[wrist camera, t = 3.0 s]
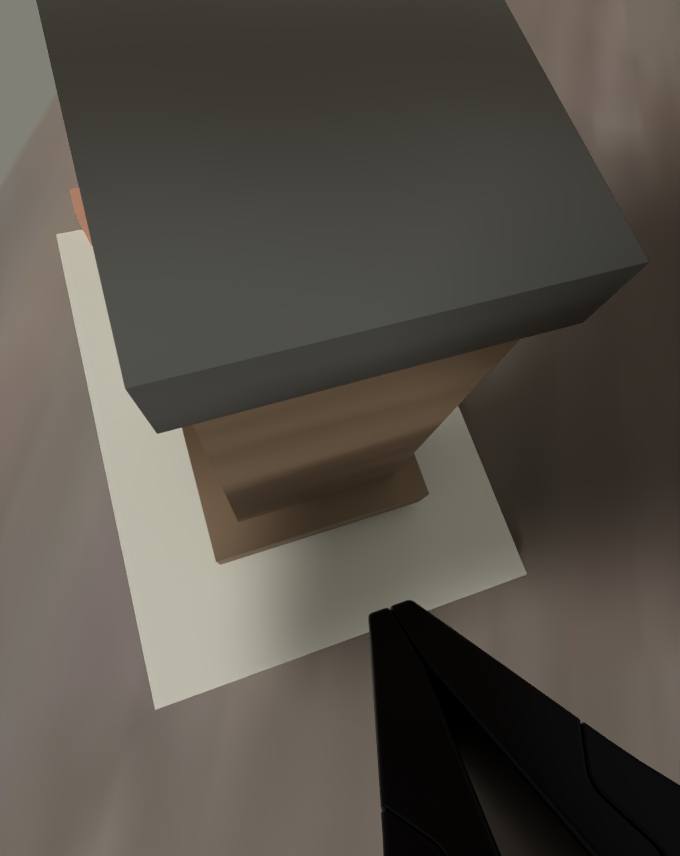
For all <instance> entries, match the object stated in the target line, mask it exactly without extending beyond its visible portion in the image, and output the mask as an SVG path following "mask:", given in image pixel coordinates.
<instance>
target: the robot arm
mask: <svg viewBox="0 0 680 856" xmlns="http://www.w3.org/2000/svg"><path fill="white" fill-rule="evenodd" d="M368 623H369V638H370V653H371V667H372V682H373V697H374V712H375V726H376V741H377V756H378V770H379V785H380V800H381V809H382V812H381V819H382V833H383V854H384V856H680V785H679V784H677V783H675V782H674V781H672V780H670V779H669V778H667V777H665V776H664V775H662V774H661V773H659V772H657V771H656V770H654V769H652V768H651V767H649V766H647V765H646V764H644V763H643V762H641V761H639V760H638V759H636V758H635V757H633V756H632V755H631V754H629V753H628V752H626V751H625V750H623V749H622V748H620V747H619V746H617V745H616V744H614V743H613V742H611V741H610V740H608V739H607V738H605V737H604V736H603V735H601V734H600V733H598V732H597V731H596V730H594V729H593V728H592V727H590V726H589V725H587V724H586V723H580V720H579V718H577V717H576V716H574V715H573V714H572V713H570V712H569V711H567V710H566V709H565V708H563V707H562V706H560V705H559V704H558V703H556V702H555V701H553V700H552V699H551V698H549V697H548V696H546V695H545V694H543V693H542V692H541V691H539V690H538V689H536V688H535V687H534V686H532V685H531V684H529V683H528V682H527V681H525V680H524V679H522V678H521V677H520V676H518V675H517V674H515V673H514V672H513V671H511V670H510V669H508V668H507V667H506V666H504V665H503V664H501V663H500V662H498V661H497V660H496V659H494V658H493V657H491V656H490V655H489V654H487V653H486V652H484V651H483V650H482V649H480V648H479V647H477V646H476V645H475V644H473V643H472V642H470V641H469V640H468V639H466V638H465V637H463V636H462V635H461V634H459V633H458V632H456V631H455V630H453V629H452V628H451V627H449V626H448V625H446V624H445V623H444V622H442V621H441V620H439V619H438V618H437V617H435V616H434V615H432V614H431V613H430V612H428V611H427V610H425V609H424V608H423V607H421V606H420V605H418V604H417V603H416V602H414V601H412V600H406V601H403V602H400V603H398V604H395V605H393V606H391V608H390V609H389V608H384V609H381V610H378V611H375V612H372V613H370V614H369V616H368Z"/></svg>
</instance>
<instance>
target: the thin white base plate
mask: <svg viewBox="0 0 680 856" xmlns="http://www.w3.org/2000/svg"><path fill="white" fill-rule="evenodd" d="M70 194H71V198H72V203H73V207H74V211H75V215H76V217H77V219H78V221H79V223H80V225H81V227H82V229H83V230H77V231H72V232H66V233H61V234H56V236H57V241H58V246H59V250H60V255H61V260H62V265H63V270H64V274H65V279H66V284H67V289H68V294H69V298H70V303H71V308H72V313H73V318H74V322H75V327H76V332H77V337H78V342H79V346H80V351H81V356H82V361H83V366H84V370H85V375H86V380H87V385H88V390H89V394H90V399H91V404H92V409H93V414H94V418H95V423H96V428H97V433H98V438H99V442H100V447H101V452H102V457H103V462H104V466H105V471H106V476H107V481H108V486H109V490H110V495H111V500H112V505H113V510H114V514H115V519H116V524H117V529H118V534H119V538H120V543H121V548H122V553H123V558H124V562H125V567H126V572H127V577H128V582H129V586H130V591H131V596H132V601H133V606H134V610H135V615H136V620H137V625H138V630H139V634H140V639H141V644H142V649H143V654H144V658H145V663H146V668H147V673H148V678H149V682H150V687H151V692H152V697H153V702H154V706H155V710H156V709H159V708H162V707H164V706H167V705H170V704H173V703H175V702H178V701H181V700H184V699H186V698H189V697H192V696H195V695H197V694H200V693H203V692H206V691H208V690H211V689H214V688H217V687H219V686H222V685H225V684H228V683H230V682H233V681H236V680H239V679H241V678H244V677H247V676H250V675H252V674H255V673H258V672H261V671H263V670H266V669H269V668H272V667H274V666H277V665H280V664H283V663H285V662H288V661H291V660H294V659H296V658H299V657H302V656H305V655H307V654H310V653H313V652H316V651H318V650H321V649H324V648H327V647H329V646H332V645H335V644H337V643H340V642H343V641H346V640H348V639H351V638H354V637H357V636H359V635H362V634H365V633H368V632H369V623H368V616H369V614H370V613H372V612H375V611H378V610H381V609H384V608H389V609H390V608H391V606H393V605H395V604H398V603H400V602H403V601H406V600H412V601H414V602H416V603H417V604H418V605H420V606H421V607H423V608H424V609H425V610H427V611H428V610H431V609H434V608H436V607H439V606H442V605H445V604H447V603H450V602H453V601H456V600H458V599H461V598H464V597H467V596H469V595H472V594H475V593H478V592H480V591H483V590H486V589H489V588H491V587H494V586H497V585H500V584H502V583H505V582H508V581H510V580H513V579H516V578H519V577H521V576H524V575H527V573H526V571H525V568H524V566H523V563H522V561H521V558H520V556H519V553H518V551H517V549H516V546H515V544H514V541H513V539H512V536H511V534H510V531H509V529H508V526H507V524H506V522H505V519H504V517H503V514H502V512H501V509H500V507H499V504H498V502H497V499H496V497H495V495H494V492H493V490H492V487H491V485H490V482H489V480H488V477H487V475H486V472H485V470H484V468H483V465H482V463H481V460H480V458H479V455H478V453H477V450H476V448H475V445H474V443H473V441H472V438H471V436H470V433H469V431H468V428H467V426H466V423H465V421H464V418H463V416H462V414H461V411H460V409H459V406H457V407H456V408H455V409H454V411H453V412H452V413H451V414H450V415H449V416H448V417H447V418H446V419H445V420H444V421H443V422H442V423H441V425H440V426H439V427H438V428H437V429H436V430H435V431H434V432H433V433H432V434H431V435H430V436H429V437H428V438H427V440H426V441H425V442H424V443H423V444H422V445H421V446H420V447H419V448H418V449H417V450H416V451H415V452H414V454H415V457H416V460H417V462H418V465H419V468H420V470H421V473H422V476H423V478H424V481H425V484H426V486H427V489H428V492H429V495H428V496H426V497H425V498H423V499H422V500H420V501H419V502H416V503H413V504H410V505H407V506H404V507H401V508H397V509H394V510H391V511H388V512H385V513H382V514H379V515H375V516H372V517H369V518H366V519H363V520H360V521H357V522H353V523H350V524H347V525H344V526H341V527H338V528H335V529H331V530H328V531H325V532H322V533H319V534H316V535H313V536H309V537H306V538H303V539H300V540H297V541H294V542H291V543H287V544H284V545H281V546H278V547H275V548H272V549H269V550H265V551H262V552H259V553H256V554H253V555H250V556H247V557H243V558H240V559H237V560H234V561H231V562H228V563H225V564H221V565H220V564H219V563H217V562H216V560H215V556H214V552H213V548H212V544H211V540H210V536H209V532H208V529H207V525H206V521H205V517H204V513H203V509H202V505H201V501H200V497H199V493H198V489H197V485H196V481H195V477H194V473H193V470H192V466H191V462H190V458H189V454H188V450H187V446H186V442H185V438H184V434H183V430H182V428H178V429H175V430H171V431H167V432H163V433H159V434H157V433H156V432H155V430H154V429H153V427H152V426H151V425H150V423H149V422H148V420H147V419H146V418H145V416H144V415H143V413H142V412H141V411H140V409H139V408H138V406H137V405H136V403H135V402H134V401H133V399H132V398H131V396H130V395H129V394H128V392H127V391H126V389H125V386H124V382H123V377H122V373H121V369H120V364H119V360H118V356H117V351H116V347H115V342H114V338H113V334H112V329H111V325H110V321H109V316H108V312H107V307H106V303H105V299H104V294H103V290H102V286H101V281H100V277H99V272H98V268H97V264H96V259H95V255H94V251H93V246H92V242H91V237H90V233H89V229H88V224H87V220H86V216H85V211H84V207H83V202H82V198H81V194H80V189H79V187H77V188H71V189H70Z"/></svg>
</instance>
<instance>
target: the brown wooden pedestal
mask: <svg viewBox="0 0 680 856" xmlns="http://www.w3.org/2000/svg"><path fill="white" fill-rule="evenodd" d="M36 1H37V5H38V9H39V14H40V18H41V23H42V27H43V32H44V36H45V40H46V45H47V49H48V53H49V58H50V62H51V67H52V71H53V76H54V80H55V84H56V89H57V93H58V97H59V102H60V106H61V111H62V115H63V119H64V124H65V128H66V132H67V137H68V141H69V146H70V150H71V154H72V159H73V163H74V167H75V172H76V176H77V181H78V185H79V189H80V194H81V198H82V202H83V207H84V211H85V216H86V220H87V224H88V229H89V233H90V237H91V242H92V246H93V251H94V255H95V259H96V264H97V268H98V272H99V277H100V281H101V286H102V290H103V294H104V299H105V303H106V307H107V312H108V316H109V321H110V325H111V329H112V334H113V338H114V342H115V347H116V351H117V356H118V360H119V364H120V369H121V373H122V377H123V382H124V386H125V389H126V391H127V392H128V394H129V395H130V396H131V398H132V399H133V401H134V402H135V403H136V405H137V406H138V408H139V409H140V411H141V412H142V413H143V415H144V416H145V418H146V419H147V420H148V422H149V423H150V425H151V426H152V427H153V429H154V430H155V432H156V433H157V434H159V433H163V432H167V431H171V430H175V429H178V428H182V430H183V434H184V438H185V442H186V446H187V450H188V454H189V458H190V462H191V466H192V470H193V473H194V477H195V481H196V485H197V489H198V493H199V497H200V501H201V505H202V509H203V513H204V517H205V521H206V525H207V529H208V532H209V536H210V540H211V544H212V548H213V552H214V556H215V560H216V562H217V563H219V564H220V565H221V564H225V563H228V562H231V561H234V560H237V559H240V558H243V557H247V556H250V555H253V554H256V553H259V552H262V551H265V550H269V549H272V548H275V547H278V546H281V545H284V544H287V543H291V542H294V541H297V540H300V539H303V538H306V537H309V536H313V535H316V534H319V533H322V532H325V531H328V530H331V529H335V528H338V527H341V526H344V525H347V524H350V523H353V522H357V521H360V520H363V519H366V518H369V517H372V516H375V515H379V514H382V513H385V512H388V511H391V510H394V509H397V508H401V507H404V506H407V505H410V504H413V503H416V502H419V501H420V500H422V499H423V498H425V497H426V496H428V495H429V492H428V489H427V486H426V484H425V481H424V478H423V476H422V473H421V470H420V468H419V465H418V462H417V460H416V457H415V454H414V452H415V451H416V450H417V449H418V448H419V447H420V446H421V445H422V444H423V443H424V442H425V441H426V440H427V438H428V437H429V436H430V435H431V434H432V433H433V432H434V431H435V430H436V429H437V428H438V427H439V426H440V425H441V423H442V422H443V421H444V420H445V419H446V418H447V417H448V416H449V415H450V414H451V413H452V412H453V411H454V409H455V408H456V407H457V406H458V405H459V404H460V403H461V402H462V401H463V400H464V399H465V398H466V397H467V396H468V394H469V393H470V392H471V391H472V390H473V389H474V388H475V387H476V386H477V385H478V384H479V383H480V382H481V380H482V379H483V378H484V377H485V376H486V375H487V374H488V373H489V372H490V371H491V370H492V369H493V368H494V367H495V365H496V364H497V363H498V362H499V361H500V360H501V359H502V358H503V357H504V356H505V355H506V354H507V353H508V351H509V350H510V349H511V348H512V347H513V346H514V345H515V344H516V343H517V342H518V341H519V340H520V339H522V338H526V337H529V336H533V335H537V334H541V333H545V332H549V331H552V330H556V329H560V328H564V327H568V326H571V325H575V324H579V323H583V322H584V321H585V320H586V319H587V318H588V317H589V316H590V315H591V314H593V313H594V312H595V311H596V310H597V309H598V308H599V307H600V306H601V305H602V304H604V303H605V302H606V301H607V300H608V299H609V298H610V297H611V296H612V295H613V294H615V293H616V292H617V291H618V290H619V289H620V288H621V287H622V286H623V285H624V284H626V283H627V282H628V281H629V280H630V279H631V278H632V277H633V276H634V275H635V274H637V273H638V272H639V271H640V270H641V269H642V268H643V267H644V266H645V265H646V264H648V263H649V260H648V258H647V256H646V254H645V253H644V251H643V249H642V247H641V245H640V244H639V242H638V240H637V238H636V236H635V235H634V233H633V231H632V229H631V227H630V226H629V224H628V222H627V220H626V218H625V217H624V215H623V213H622V211H621V209H620V208H619V206H618V204H617V202H616V200H615V199H614V197H613V195H612V193H611V191H610V190H609V188H608V186H607V184H606V182H605V180H604V179H603V177H602V175H601V173H600V171H599V170H598V168H597V166H596V164H595V162H594V161H593V159H592V157H591V155H590V153H589V152H588V150H587V148H586V146H585V144H584V143H583V141H582V139H581V137H580V135H579V134H578V132H577V130H576V128H575V126H574V125H573V123H572V121H571V119H570V117H569V116H568V114H567V112H566V110H565V108H564V107H563V105H562V103H561V101H560V99H559V98H558V96H557V94H556V92H555V90H554V89H553V87H552V85H551V83H550V81H549V80H548V78H547V76H546V74H545V72H544V71H543V69H542V67H541V65H540V63H539V62H538V60H537V58H536V56H535V54H534V53H533V51H532V49H531V47H530V45H529V43H528V42H527V40H526V38H525V36H524V34H523V33H522V31H521V29H520V27H519V25H518V24H517V22H516V20H515V18H514V16H513V15H512V13H511V11H510V9H509V7H508V6H507V4H506V2H505V0H36Z"/></svg>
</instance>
